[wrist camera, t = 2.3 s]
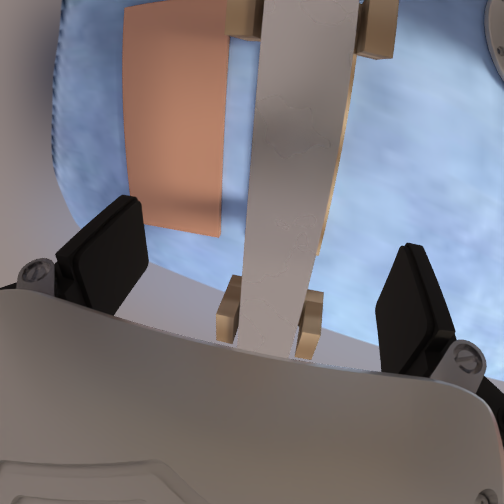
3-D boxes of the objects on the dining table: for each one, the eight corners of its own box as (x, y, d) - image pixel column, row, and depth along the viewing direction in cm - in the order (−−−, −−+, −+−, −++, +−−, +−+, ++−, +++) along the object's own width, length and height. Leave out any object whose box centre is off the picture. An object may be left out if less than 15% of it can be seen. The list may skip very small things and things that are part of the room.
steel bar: (282, -42, 8) (270, -67, 6) (355, -32, 8) (362, -56, 5) (246, 333, 21) (235, 367, 19) (288, 341, 21) (282, 377, 18)
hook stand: (282, 4, 18) (230, -61, 6) (359, 15, 17) (403, -40, 5) (259, 237, 31) (215, 356, 19) (319, 248, 30) (306, 375, 18)
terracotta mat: (128, 8, 19) (124, 7, 19) (233, -3, 18) (231, -5, 18) (136, 219, 33) (133, 222, 32) (220, 234, 32) (218, 237, 31)
